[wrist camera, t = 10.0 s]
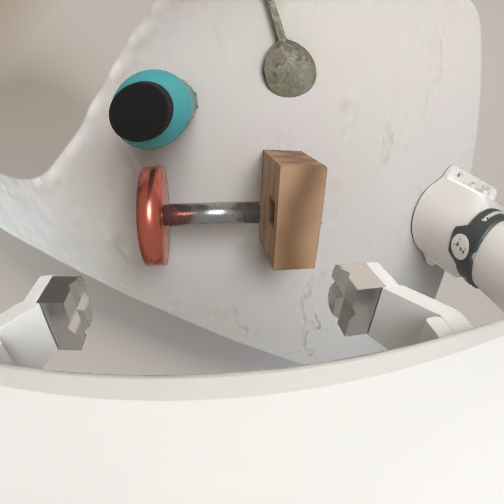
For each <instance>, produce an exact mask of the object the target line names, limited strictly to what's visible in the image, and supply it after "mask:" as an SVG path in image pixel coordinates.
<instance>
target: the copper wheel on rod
mask: <svg viewBox="0 0 504 504" xmlns="http://www.w3.org/2000/svg"><path fill="white" fill-rule="evenodd" d="M136 215H137V231H138V240H139V246H140V251H141V255H142V258H143V261H144V263H145V264H146V265H147V266H161V265H167V262H168V257H169V244H170V226H181V225H207V224H237V223H259V221H260V205H259V202H217V203H188V204H169V195H168V184H167V176H166V171H165V168H164V166H151V167H144V168H143V169H142V170H141V173H140V177H139V181H138V189H137V204H136Z"/></svg>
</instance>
